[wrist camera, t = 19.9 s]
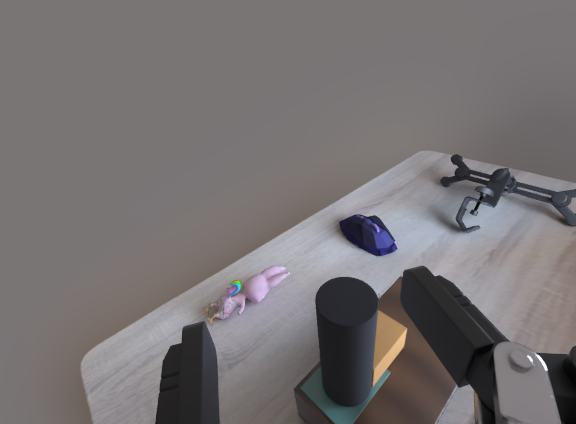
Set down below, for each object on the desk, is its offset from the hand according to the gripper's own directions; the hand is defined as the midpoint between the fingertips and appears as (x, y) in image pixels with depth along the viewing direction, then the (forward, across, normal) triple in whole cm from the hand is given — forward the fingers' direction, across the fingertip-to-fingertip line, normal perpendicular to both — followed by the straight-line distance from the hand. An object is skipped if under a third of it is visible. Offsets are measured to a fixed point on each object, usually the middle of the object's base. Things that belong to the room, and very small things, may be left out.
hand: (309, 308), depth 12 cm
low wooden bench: (+10, -12, +30) cm, 33 cm away
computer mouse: (+37, -22, +30) cm, 53 cm away
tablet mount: (+35, -48, +30) cm, 67 cm away
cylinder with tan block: (+10, -7, +24) cm, 27 cm away
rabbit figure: (+28, +4, +30) cm, 41 cm away
